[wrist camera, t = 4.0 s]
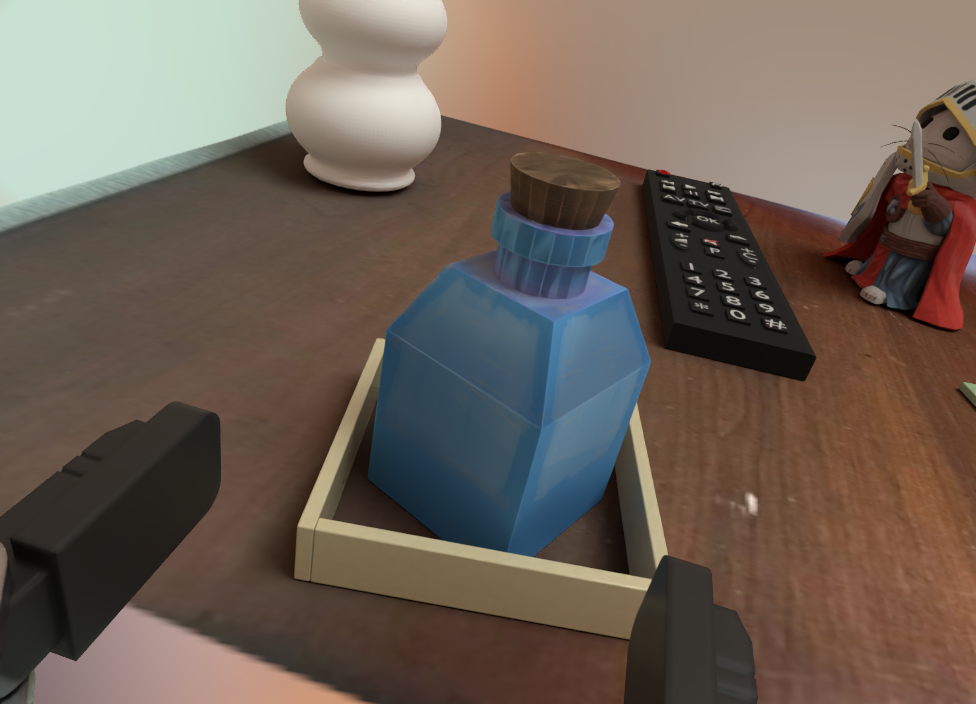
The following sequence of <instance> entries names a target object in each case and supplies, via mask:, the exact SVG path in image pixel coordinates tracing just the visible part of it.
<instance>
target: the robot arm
mask: <svg viewBox="0 0 976 704" xmlns="http://www.w3.org/2000/svg"><path fill="white" fill-rule="evenodd" d="M220 482H221V449H220V420H219V417H218V415H217V414H215V413H213V412H210V411H206V410H203V409H200V408H197V407H194V406H190V405H187V404H184V403H181V402H176V401H175V402H172V403H170V404H168V405H167V406H165V407H164V408H163V409H162V410H161V411H159V412H158V413H157V414H156V415H155V416H153V417H152V418H151V419H150V420H149V421H148V422H146V423H145V422H142V421H139V420H135V421H133V422H130V423H128V424H126V425H123V426H121V427H119V428H116V429H114V430H111V431H109V432H107V433H105V434H104V435H102V436H101V437H100V438H99V439H97V440H96V441H95V442H94V443H92V444H91V445H90V446H89V447H87V448H86V449H85V450H84V451H82V454H81V456H76V457H75V458H74V459H72V460H71V461H70V462H69V463H67V464H66V465H65V466H64V467H63V469H62V471H61V472H58V471H57V472H56V473H55V474H54V475H52V476H51V477H50V478H49V479H47V480H46V481H45V482H44V483H42V484H41V485H40V486H39V487H37V488H36V489H35V490H33V491H32V492H31V493H30V494H28V495H27V496H26V497H25V498H23V499H22V500H21V501H20V502H18V503H17V504H16V505H15V506H13V507H12V508H11V509H10V510H8V511H7V512H6V513H5V514H3V515H2V516H1V517H0V704H33V694H34V685H35V672H34V668H35V667H36V666H37V665H38V664H39V663H40V662H41V661H42V660H43V659H44V658H45V657H46V656H47V654H48V653H49V652H52V653H55V654H58V655H60V656H63V657H66V658H69V659H72V660H74V661H77V660H78V659H79V657H80V656H81V655H82V654H83V653H84V652H85V651H86V650H87V648H88V647H89V646H90V645H91V644H92V642H94V640H95V639H96V638H97V637H98V636H99V635H100V633H102V631H103V630H104V629H105V628H106V627H107V626H108V625H109V623H110V622H111V621H112V620H113V619H114V618H115V617H116V615H117V614H118V613H119V612H120V611H121V610H122V609H123V608H124V606H125V605H126V604H127V603H128V602H129V601H130V600H131V598H132V597H133V596H134V595H135V594H136V593H137V592H138V590H139V589H140V588H141V587H142V586H143V585H144V584H145V583H146V581H147V580H148V579H149V578H150V577H151V576H152V575H153V573H154V572H155V571H156V570H157V569H158V568H159V567H160V565H161V564H162V563H163V562H164V561H165V560H166V559H167V558H168V556H169V555H170V554H171V553H172V552H173V551H174V550H175V548H176V547H177V546H178V545H179V544H180V543H181V542H182V540H183V539H184V538H185V537H186V536H187V535H188V534H189V533H190V531H191V530H192V529H193V528H194V527H195V526H196V525H197V523H198V522H199V521H200V520H201V519H202V518H203V517H204V515H205V514H206V513H207V512H208V511H209V509H210V508H211V506H212V504H213V503H214V500H215V498H216V496H217V494H218V490H219V487H220ZM754 675H755V667H754V658H753V648H752V641H751V639H750V637H749V635H748V634H747V632H746V630H745V628H744V626H743V624H742V622H741V620H740V618H739V616H738V614H737V612H736V611H734V610H731V609H728V608H725V607H721V606H718V605H715V604H713V586H712V574H711V570H710V569H709V568H707V567H703V566H700V565H697V564H694V563H690V562H687V561H684V560H681V559H678V558H674V557H671V556H668V555H664V556H663V557H662V559H661V560H660V562H659V564H658V567H657V569H656V571H655V574H654V576H653V578H652V580H651V583H650V585H649V587H648V590H647V592H646V594H645V596H644V599H643V601H642V603H641V606H640V608H639V610H638V613H637V615H636V618H635V621H634V624H633V628H632V631H631V636H630V641H629V647H628V655H627V668H626V681H625V694H624V704H757V699H758V695H757V686H756V679H754Z"/></svg>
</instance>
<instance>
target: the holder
mask: <svg viewBox="0 0 976 704" xmlns="http://www.w3.org/2000/svg"><path fill="white" fill-rule="evenodd" d="M384 345H385V339H380V338H377V339H376V341H375V344H374V346H373V348H372V351H371V353H370V355H369V358H368V360H367V362H366V365H365V367H364V369H363V372H362V374H361V377H360V379H359V381H358V384H357V386H356V388H355V391H354V393H353V395H352V398H351V400H350V402H349V405H348V407H347V410H346V412H345V414H344V417H343V419H342V421H341V424H340V426H339V428H338V431H337V433H336V435H335V438H334V440H333V443H332V445H331V447H330V450H329V452H328V454H327V457H326V459H325V461H324V464H323V466H322V468H321V471H320V473H319V476H318V478H317V480H316V483H315V485H314V487H313V490H312V492H311V494H310V497H309V499H308V501H307V504H306V506H305V509H304V511H303V513H302V516H301V518H300V520H299V523H298V525H297V536H296V552H295V568H294V578H295V579H299V580H305V581H310V579H311V581H312V582H316V583H321V584H327V585H332V586H338V587H343V588H349V589H354V590H360V591H365V592H371V593H376V594H382V595H387V596H393V597H398V598H404V599H409V600H415V601H420V602H426V603H431V604H437V605H442V606H448V607H453V608H459V609H464V610H470V611H475V612H481V613H486V614H492V615H497V616H503V617H508V618H514V619H519V620H525V621H530V622H536V623H541V624H547V625H552V626H558V627H563V628H569V629H574V630H580V631H585V632H591V633H596V634H602V635H607V636H613V637H618V638H624V639H629V640H630V636H631V631H632V628H633V624H634V621H635V618H636V615H637V613H638V610H639V608H640V606H641V603H642V601H643V599H644V596H645V594H646V592H647V590H648V587H649V585H650V583H651V580H652V578H653V576H654V574H655V571H656V569H657V567H658V564H659V562H660V560H661V559H662V557H663V556H664V555H668V553H667V548H666V543H665V538H664V533H663V528H662V523H661V519H660V514H659V509H658V504H657V499H656V494H655V489H654V484H653V479H652V475H651V470H650V465H649V460H648V455H647V450H646V445H645V440H644V435H643V431H642V426H641V421H640V416H639V411H638V406H637V403H636V405H635V408H634V411H633V414H632V417H631V419H630V422H629V425H628V428H627V431H626V433H625V436H624V439H623V442H622V445H621V447H620V450H619V453H618V456H617V459H616V461H615V464H614V465H615V472H616V479H617V487H618V494H619V501H620V509H621V516H622V523H623V530H624V538H625V545H626V552H627V560H628V567H629V574H630V575H626V574H621V573H615V572H610V571H605V570H599V569H594V568H588V567H583V566H578V565H572V564H567V563H561V562H556V561H551V560H545V559H540V558H534V557H529V556H524V555H518V554H513V553H507V552H502V551H497V550H491V549H486V548H480V547H475V546H470V545H464V544H459V543H453V542H448V541H443V540H437V539H432V538H426V537H421V536H416V535H410V534H405V533H399V532H394V531H389V530H383V529H378V528H372V527H367V526H362V525H356V524H351V523H345V522H340V521H335V520H333V517H334V514H335V512H336V509H337V506H338V503H339V501H340V498H341V495H342V493H343V490H344V487H345V484H346V482H347V479H348V476H349V473H350V471H351V468H352V465H353V463H354V460H355V457H356V454H357V452H358V449H359V446H360V444H361V441H362V438H363V435H364V433H365V430H366V427H367V424H368V422H369V419H370V416H371V414H372V411H373V408H374V405H375V403H376V400H377V397H378V393H379V385H380V377H381V369H382V361H383V353H384Z"/></svg>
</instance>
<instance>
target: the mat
mask: <svg viewBox="0 0 976 704" xmlns="http://www.w3.org/2000/svg"><path fill="white" fill-rule="evenodd" d="M959 390H960V391H961V392H962V393H963V394H964V395H965V396H966V397H967V398H968V399H969V400H970V401H971V402H972V403H973V405H974V406H975V407H976V384H970V383H965V382H962V384H961V386H960V387H959Z"/></svg>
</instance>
